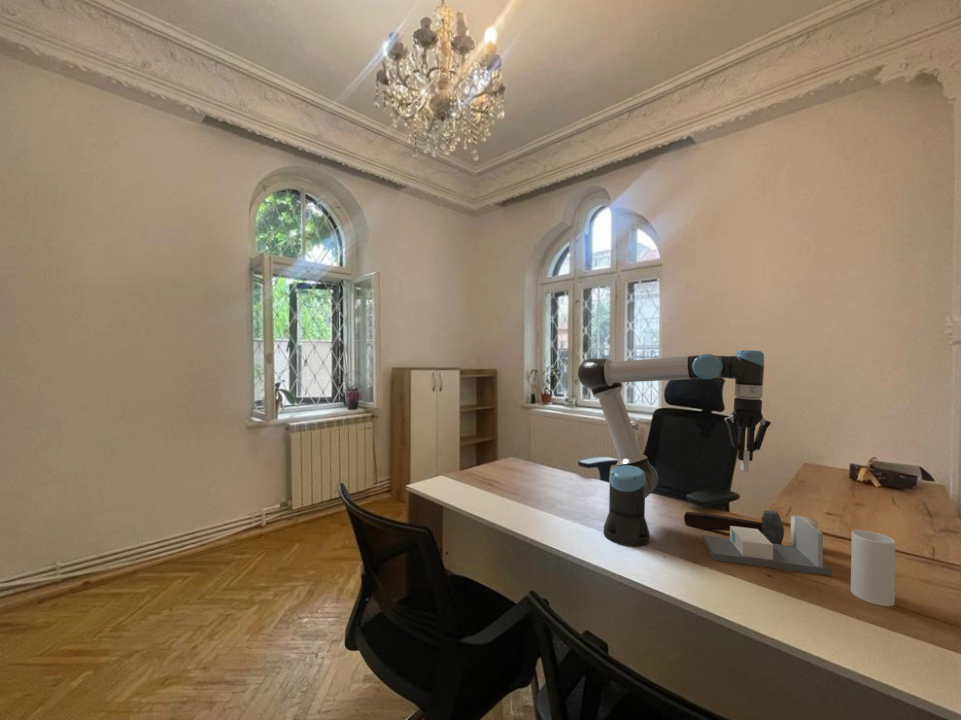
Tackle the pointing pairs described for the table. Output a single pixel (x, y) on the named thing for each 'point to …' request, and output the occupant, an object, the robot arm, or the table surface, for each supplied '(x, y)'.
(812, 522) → the cream white shapes
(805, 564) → the grey base with uprights
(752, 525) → the hammer
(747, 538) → the carton
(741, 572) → the table surface
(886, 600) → the cup
